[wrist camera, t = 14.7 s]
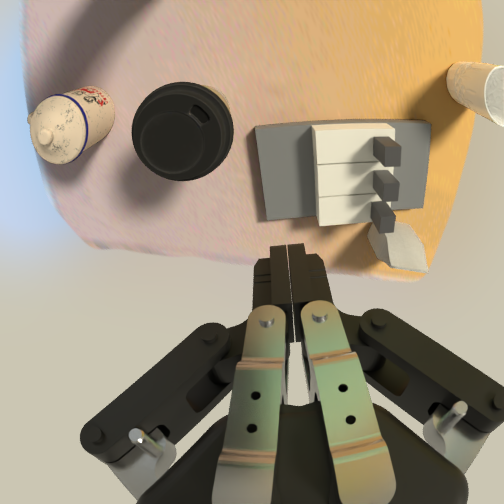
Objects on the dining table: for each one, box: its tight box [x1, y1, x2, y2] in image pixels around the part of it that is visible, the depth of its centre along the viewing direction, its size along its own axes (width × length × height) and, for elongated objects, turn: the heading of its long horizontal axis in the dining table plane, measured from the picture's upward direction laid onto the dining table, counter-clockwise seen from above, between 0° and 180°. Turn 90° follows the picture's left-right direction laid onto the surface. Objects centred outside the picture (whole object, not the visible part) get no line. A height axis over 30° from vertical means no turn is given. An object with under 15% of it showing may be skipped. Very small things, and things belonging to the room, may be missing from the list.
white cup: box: [446, 61, 504, 127], centre depth 27 cm, size 8×8×10 cm
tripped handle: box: [373, 170, 400, 202], centre depth 34 cm, size 2×2×4 cm
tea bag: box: [367, 221, 429, 273], centre depth 42 cm, size 4×7×10 cm, turn 81°
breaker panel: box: [255, 119, 431, 234], centre depth 36 cm, size 13×24×9 cm, turn 98°
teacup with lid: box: [27, 86, 115, 164], centre depth 31 cm, size 12×9×12 cm
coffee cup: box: [132, 82, 234, 181], centre depth 30 cm, size 9×9×15 cm
